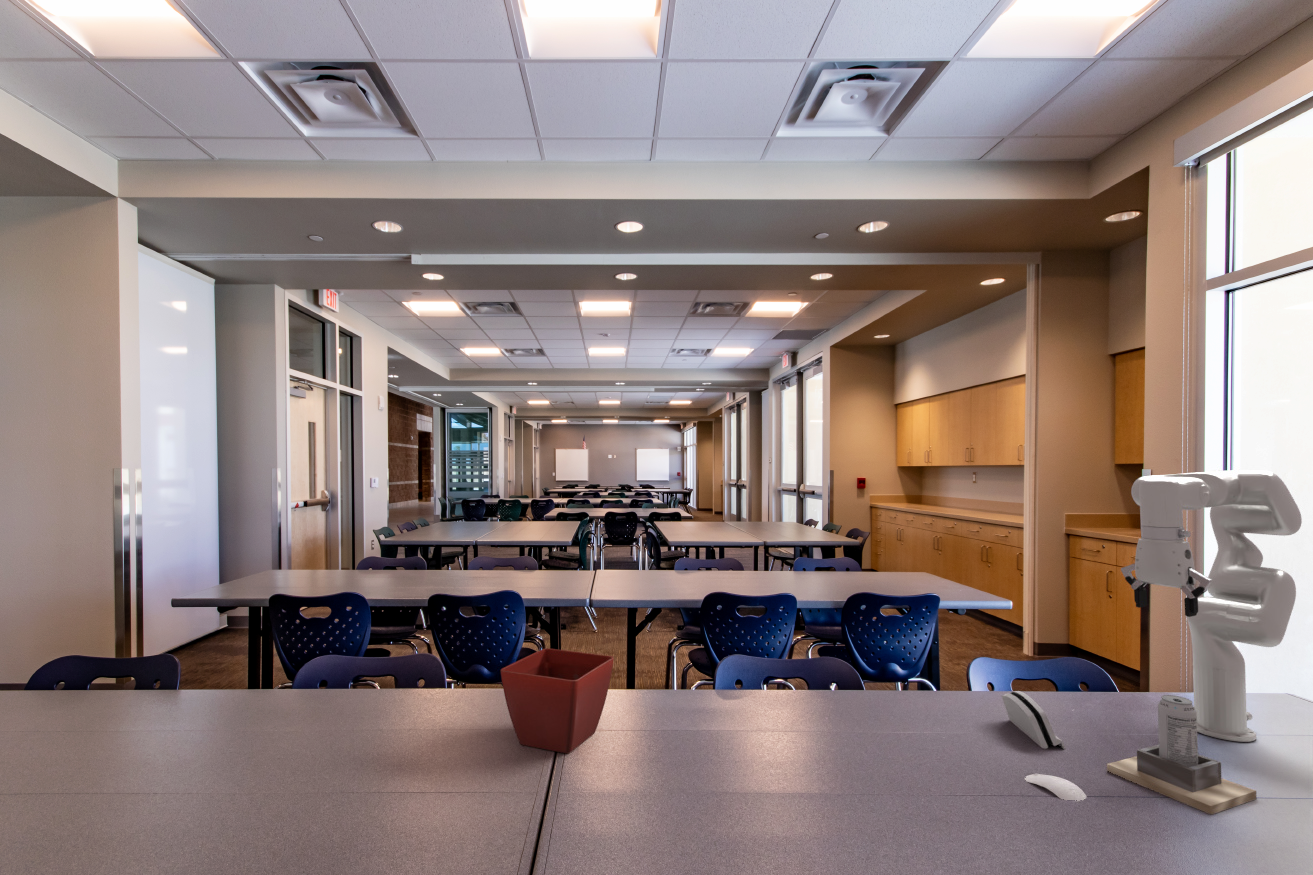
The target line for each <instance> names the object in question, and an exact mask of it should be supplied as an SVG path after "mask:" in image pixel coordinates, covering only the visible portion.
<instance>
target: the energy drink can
mask: <svg viewBox="0 0 1313 875" xmlns="http://www.w3.org/2000/svg"><path fill="white" fill-rule="evenodd" d="M1157 724H1158V725H1157V726H1158V728H1157V729H1158V730H1157V731H1158V745H1159V757H1162V758H1165V759H1167V760H1170V761H1173V762H1175V763H1178V764H1181V765H1184V766H1186V767H1193V766H1196V765H1198V754H1199V749H1198V748H1199V747H1198V742H1199V741H1198V732H1197V711H1196V710H1195V708H1194V704H1193V701H1192V700H1190V699H1189V698H1186V697H1182V696H1177V695H1171V694H1163V695H1161V699H1160V700H1159V701H1158V703H1157Z"/></svg>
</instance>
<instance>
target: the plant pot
mask: <svg viewBox="0 0 1313 875" xmlns="http://www.w3.org/2000/svg"><path fill="white" fill-rule="evenodd" d="M613 667H614V656H611V655H603V654H596V653H590V652H589V653H588V652H582V651H581V652H580V651H571V650H564V649H556V648H543V649H540V650H537V651H535V652H534V653H532V654H529V655H527V656H525V657H522V658H521V659H518V660H517V661H514V662H512V663H510V664H509V665H506V666H505V667H502V668H501V669H500V676H501V677H500V678H501V683H502V689H503V694H504V699H505V703H506V707H507V710H508V713H509V717H510V720H511V724H512V727H513V730H514V732H515V734H516V735H515V736H516V737H517V741H518V742H519V744H520V745H521V746H526V747H531V748H535V749H542V750H546V751H553V752H558V753H562V754H570V753H572V752H573V751H574V750H575V749H576V748H578V747H579V746H581V745H583V743H584V742H586V740H588V739H589V738H591V736H593V735H595V733H596V731H597V728H598V725H599V722H600V720H601V717H602V713H603V711H604V708H605V704H606V701H607V700H606V699H607V695H608V692H609V687H610V682H611V677H612V672H613Z"/></svg>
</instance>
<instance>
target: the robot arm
mask: <svg viewBox="0 0 1313 875" xmlns="http://www.w3.org/2000/svg"><path fill="white" fill-rule="evenodd" d="M1130 494H1131V497H1132V499H1133V501H1134V502H1135V504H1136V505H1137V506H1139V512H1140V513H1139V514H1140V516H1139V517H1140V534H1141V535H1140V536H1141V538H1138V539H1137V540H1138V541H1137V544H1136V548H1135V560H1134V563H1132V564H1129V565H1126V566H1124V567H1121V568H1120V571H1121V573H1122V575H1123V577H1124V578H1125V579H1124V580H1125V581H1126V582H1127V583H1128V584H1129V585H1130V588H1131V589H1132V590H1133V596H1134V597H1133V598H1134V603H1135V607H1136V608H1137V609H1138V608H1139V609H1141V608H1145V607H1147V606H1148V594H1147V593H1148V591H1147V588H1145V586H1146V585H1147V584H1150V585H1155V586H1160V587H1161V586H1163V587H1169V588H1178V589H1180V590H1181V591H1182V592H1183V594H1184V595H1185V596H1186V597H1185V598H1184V615H1185V616H1186V619H1187V623H1188V628H1189V631H1190V638H1191V649H1192V676H1193V677H1192V678H1193V679H1192V681H1193V682H1192V684H1193V706H1194V708H1195V710H1196V711H1197V733H1200V734H1202V735H1204V736H1208V737H1211V738H1216V739H1220V740H1225V741H1233V742H1239V743H1240V742H1241V743H1243V742H1244V743H1247V742H1249V743H1250V742H1253V741H1255V740H1257V733H1256V732H1255V731H1254V730H1253V729H1251V728H1249V727H1248V721H1251V720H1252V719H1253V715H1252V713H1250V712H1249V711H1247V688H1246V685H1247V684H1246V662H1245V659H1244V656H1243V654H1242V652H1241V651H1240V650H1239V648H1238V647H1237V646H1236V644H1234V643H1235V642H1237V643H1241V644H1247V645H1252V646H1258V647H1263V648H1264V647H1265V648H1274V647H1277V646H1278V645H1280V644H1281V643H1282V641H1283V640H1284V637H1285V635H1286V632H1287V628H1288V626H1289V625H1288V624H1289V622H1290V619H1291V615H1292V611H1293V609H1294V606H1295V602H1296V597H1297V587H1296V583H1295V580H1294V579H1293V577H1292V576H1291V575H1290V574H1289V573H1288V572H1287V571H1285V570H1281V569H1277V568H1272V567H1263V566H1262V564H1263V561H1264V556H1263V553H1262V552H1261V550H1260V548H1258V546H1257V545H1256V544H1255V543H1254V542H1253V541H1252V540H1250V539H1249V538H1248V537H1247V536H1246V535H1245V534H1253V535H1255V534H1256V535H1269V536H1284V537H1285V536H1291V535H1295V534H1296V533H1297V532H1298V531H1299V530H1300V529H1301V527H1302V522H1303V521H1302V515H1301V511H1300V508H1299V507H1298V504H1297V502H1296V501H1295V499H1294V497H1293V495H1292V494H1291V492H1290V489H1289V488H1288V487H1287V484H1285V482H1284V481H1283V480H1282V478H1280V477H1279V475H1278V474H1275V473H1274V472H1272V471H1269V470H1217V471H1216V470H1213V471H1201V472H1198V471H1197V472H1188V473H1187V472H1186V473H1176V474H1160V475H1159V474H1158V475H1146V476H1140V477H1138V478H1137V479H1135V481H1134V482H1133V484H1132V486H1131V491H1130ZM1203 508H1210V510H1209V511H1210V512H1209V518H1210V524H1211V528H1212V530H1213V534H1214V537H1215V540H1216V543H1217V549H1218V550H1217V553H1216V555H1215V558H1214V561H1213V564H1212V567H1211V569H1210V572H1209V574H1208V576H1206V575H1204V574H1202V572H1201V573H1200V572H1199V571H1197V570H1196V568H1195V560H1194V556H1193V552H1192V549H1191V545H1190V542H1189V541H1187V540H1186V541H1185V539H1186V538H1191V531H1189V530H1185V527H1184V512H1183V511H1197V510H1201V509H1203ZM1132 571H1135V572H1134V573H1135V576H1133V574H1132ZM1197 581H1198V582H1199V583H1198V584H1199V585H1198V586H1197V587H1195V585H1196V583H1197ZM1206 592H1208V593H1209V595H1210V596H1202V595H1203V594H1205V593H1206Z"/></svg>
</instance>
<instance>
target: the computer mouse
mask: <svg viewBox="0 0 1313 875" xmlns="http://www.w3.org/2000/svg"><path fill="white" fill-rule="evenodd" d="M1025 777H1026V778H1025ZM1025 777H1024V781H1025V780H1026V781H1025V782H1027V783H1031V784H1035V785H1038V786H1040V787H1043V788H1045V789H1046V790H1048V791H1050V792H1052V793H1053V794H1054V795H1055V796H1057V797H1058V798H1059V799H1060V800H1063V799H1064V800H1063V801H1067V800H1075V801H1074V802H1081V801H1080V800H1082V801H1084V799H1085V800H1086V799H1087V795H1086V793H1085V792H1084V791H1083V789H1082V788H1080V787H1079V786H1078V785H1077V784H1076V783H1074V782H1072V781H1071V780H1067V779H1065V778H1063V777H1059V776H1055V775H1048V774H1041V773H1040V774H1039V773H1033V774H1028V775H1026V776H1025ZM1076 800H1077V801H1076Z"/></svg>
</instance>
